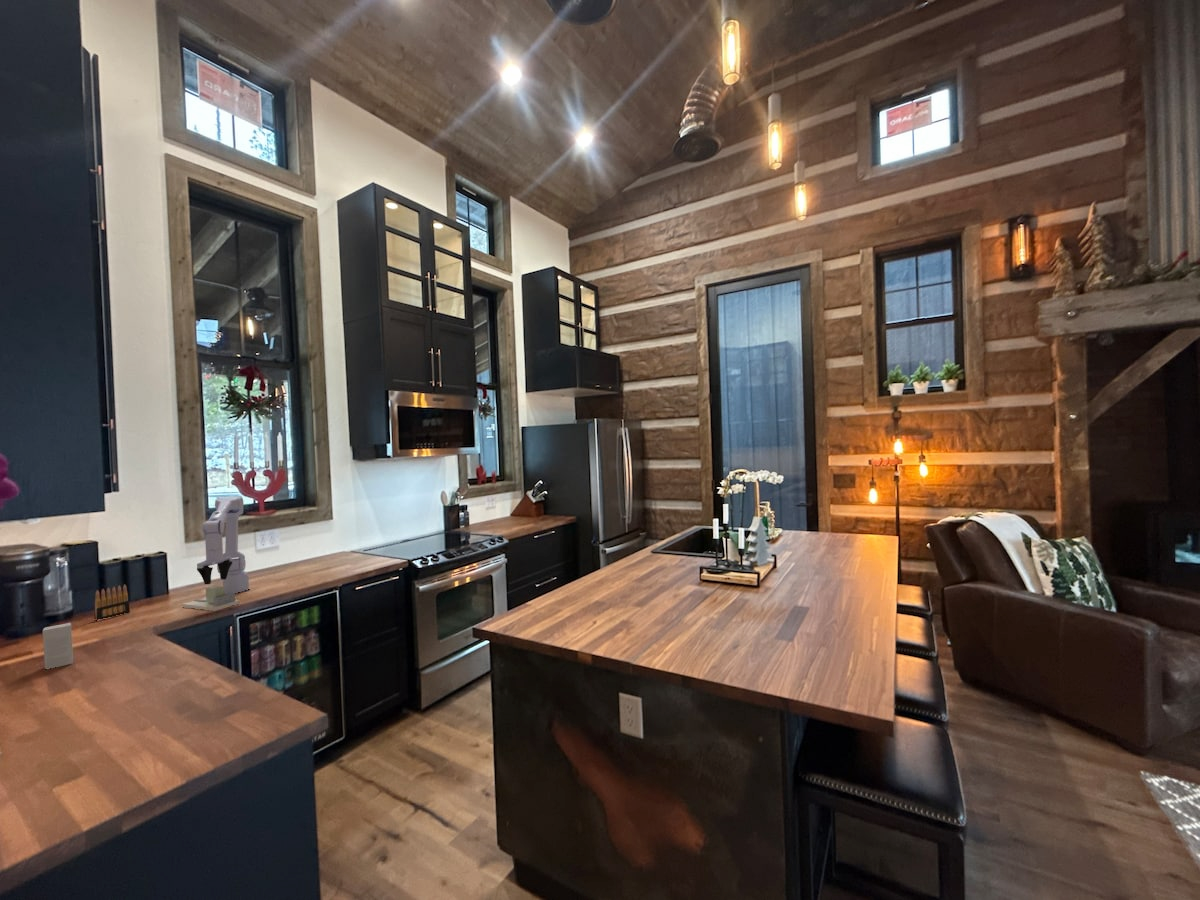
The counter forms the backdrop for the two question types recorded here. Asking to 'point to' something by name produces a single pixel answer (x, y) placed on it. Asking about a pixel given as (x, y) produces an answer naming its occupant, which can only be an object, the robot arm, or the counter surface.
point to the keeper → (214, 592)
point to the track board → (207, 605)
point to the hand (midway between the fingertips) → (215, 581)
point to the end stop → (224, 599)
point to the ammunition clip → (111, 603)
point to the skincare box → (57, 645)
